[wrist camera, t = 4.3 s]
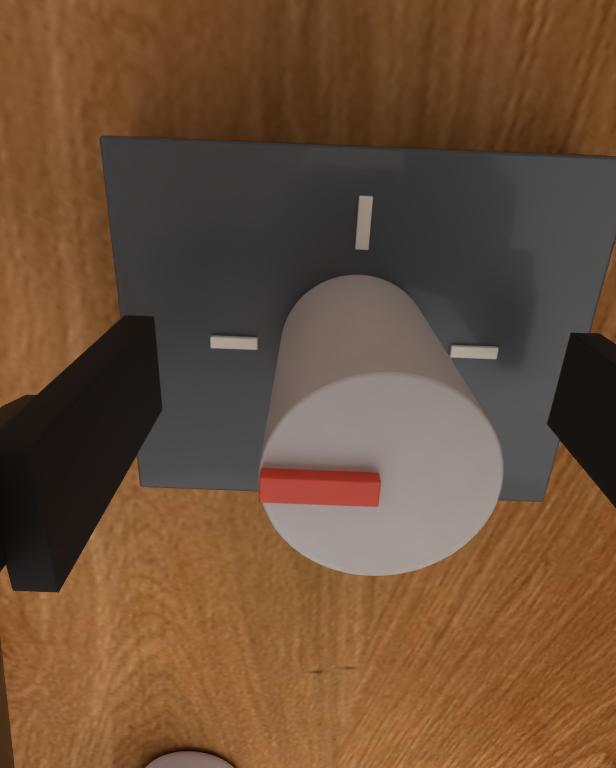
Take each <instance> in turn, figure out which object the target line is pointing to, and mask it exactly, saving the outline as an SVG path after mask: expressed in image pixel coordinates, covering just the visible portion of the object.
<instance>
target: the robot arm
mask: <svg viewBox="0 0 616 768" xmlns="http://www.w3.org/2000/svg"><path fill="white" fill-rule="evenodd" d="M162 410H163V409H162V398H161V387H160V376H159V365H158V353H157V342H156V331H155V320H154V316H134V315H124V316H123V317H122V318H121V319H120V320H119V321H118V322H117V323H116V324H115V325H113V326H112V327H111V328H110V329H109V330H108V331H107V332H106V333H105V334H104V335H102V336H101V337H100V338H99V339H98V340H97V341H96V342H95V343H94V344H93V345H91V346H90V347H89V348H88V349H87V350H86V351H85V352H84V353H83V354H82V355H80V356H79V357H78V358H77V359H76V360H75V361H74V362H73V363H72V364H71V365H69V366H68V367H67V368H66V369H65V370H64V371H63V372H62V373H61V374H60V375H58V376H57V377H56V378H55V379H54V380H53V381H52V382H51V383H50V384H48V385H47V386H46V387H45V388H44V389H43V390H42V391H41V392H40V393H39V394H37V395H25V396H23V397H21V398H19V399H17V400H14V401H12V402H10V403H8V404H6V405H4V406H2V407H1V408H0V572H1V570H2V569H3V568H4V566H5V565H6V566H7V570H8V574H9V577H10V581H11V585H12V589H13V591H35V592H59V591H60V589H61V587H62V586H63V584H64V582H65V580H66V579H67V577H68V575H69V573H70V572H71V570H72V568H73V566H74V565H75V563H76V561H77V559H78V557H79V556H80V554H81V552H82V550H83V549H84V547H85V545H86V543H87V542H88V540H89V538H90V536H91V535H92V533H93V531H94V529H95V528H96V526H97V524H98V522H99V521H100V519H101V517H102V515H103V514H104V512H105V510H106V508H107V507H108V505H109V503H110V501H111V500H112V498H113V496H114V494H115V492H116V491H117V489H118V487H119V485H120V484H121V482H122V480H123V478H124V477H125V475H126V473H127V471H128V470H129V468H130V466H131V464H132V463H133V461H134V459H135V457H136V456H137V454H138V452H139V450H140V449H141V447H142V445H143V443H144V442H145V440H146V438H147V436H148V434H149V433H150V431H151V429H152V427H153V426H154V424H155V422H156V420H157V419H158V417H159V415H160V413H161V412H162ZM547 425H548V426H549V428H550V429H551V430H552V431H553V432H554V434H555V435H556V436H557V437H558V439H559V440H560V441H561V442H562V443H563V445H564V446H565V447H566V448H567V449H568V451H569V452H570V453H571V454H572V455H573V457H574V458H575V459H576V460H577V462H578V463H579V464H580V465H581V466H582V468H583V469H584V470H585V471H586V472H587V474H588V475H589V476H590V477H591V478H592V480H593V481H594V482H595V483H596V485H597V486H598V487H599V488H600V489H601V491H602V492H603V493H604V494H605V495H606V497H607V498H608V499H609V500H610V502H611V503H612V504H613V505H614V506H615V508H616V344H615V343H613V342H612V341H610V340H609V339H607V338H606V337H604V336H603V335H601V334H598V333H572V332H571V333H570V337H569V341H568V345H567V349H566V353H565V356H564V360H563V364H562V368H561V372H560V376H559V380H558V383H557V387H556V391H555V395H554V399H553V403H552V406H551V410H550V414H549V418H548V422H547ZM0 768H14V758H13V749H12V740H11V731H10V722H9V713H8V703H7V694H6V685H5V676H4V667H3V658H2V649H1V639H0Z"/></svg>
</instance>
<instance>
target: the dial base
mask: <svg viewBox="0 0 616 768" xmlns="http://www.w3.org/2000/svg"><path fill="white" fill-rule="evenodd" d="M100 146H101V154H102V163H103V171H104V180H105V189H106V197H107V206H108V214H109V223H110V231H111V240H112V248H113V257H114V265H115V274H116V282H117V291H118V299H119V308H120V316H121V318H122V317H123V316H124V315H134V316H154V320H155V331H156V342H157V353H158V365H159V376H160V387H161V398H162V409H163V410H162V412H161V413H160V415H159V417H158V419H157V420H156V422H155V424H154V426H153V427H152V429H151V431H150V433H149V434H148V436H147V438H146V440H145V442H144V443H143V445H142V447H141V449H140V450H139V452H138V454H137V461H138V470H139V478H140V485H141V486H142V487H159V488H186V489H213V490H240V491H259V479H258V478H259V465H260V459H261V453H262V447H263V441H264V435H265V430H266V424H267V418H268V412H269V406H270V401H271V395H272V389H273V383H274V377H275V371H276V366H277V360H278V354H279V348H280V342H281V336H282V332H283V328H284V325H285V322H286V319H287V317H288V315H289V313H290V312H291V310H292V308H293V307H294V306H295V304H296V303H297V302H298V301H299V300H300V299H301V298H302V297H303V295H305V294H306V293H307V292H308V291H310V290H311V289H312V288H314V287H316V286H317V285H319V284H321V283H323V282H325V281H327V280H330V279H333V278H336V277H340V276H346V275H367V276H373V277H377V278H381V279H383V280H386V281H388V282H390V283H392V284H394V285H396V286H398V287H399V288H400V289H402V290H403V291H404V292H406V293H407V294H408V295H409V296H410V297H411V298H412V300H413V301H414V302H415V304H416V305H417V306H418V308H419V309H420V311H421V313H422V314H423V316H424V317H425V319H426V320H427V322H428V324H429V325H430V327H431V328H432V330H433V332H434V333H435V335H436V336H437V338H438V340H439V341H440V343H441V344H442V346H443V348H444V349H445V351H446V352H447V354H448V355H449V357H450V359H451V360H452V362H453V363H454V365H455V367H456V368H457V370H458V371H459V373H460V375H461V376H462V378H463V379H464V381H465V382H466V384H467V386H468V387H469V389H470V390H471V392H472V394H473V395H474V397H475V398H476V400H477V402H478V403H479V405H480V406H481V408H482V409H483V411H484V413H485V414H486V416H487V417H488V419H489V421H490V422H491V424H492V426H493V428H494V430H495V432H496V434H497V436H498V439H499V442H500V445H501V449H502V455H503V460H504V475H503V481H502V488H501V491H500V495H499V498H498V500H507V501H534V502H542V501H543V500H544V497H545V493H546V489H547V486H548V482H549V479H550V475H551V471H552V468H553V464H554V461H555V457H556V453H557V450H558V446H559V442H560V440H559V439H558V437H557V436H556V435H555V434H554V432H553V431H552V430H551V429H550V428H549V426H548V425H547V422H548V418H549V414H550V410H551V406H552V403H553V399H554V395H555V391H556V387H557V383H558V380H559V376H560V372H561V368H562V364H563V360H564V356H565V353H566V349H567V345H568V341H569V337H570V333H571V332H572V333H590V330H591V327H592V323H593V319H594V316H595V312H596V308H597V305H598V301H599V298H600V294H601V290H602V287H603V283H604V279H605V276H606V272H607V269H608V265H609V261H610V258H611V254H612V250H613V247H614V243H615V240H616V156H596V155H573V154H549V153H524V152H499V151H475V150H450V149H426V148H401V147H376V146H352V145H327V144H303V143H278V142H253V141H229V140H204V139H180V138H155V137H129V136H101V137H100Z"/></svg>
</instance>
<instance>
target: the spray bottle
mask: <svg viewBox="0 0 616 768" xmlns="http://www.w3.org/2000/svg"><path fill="white" fill-rule="evenodd" d="M145 768H234V767H233V766H232V765H230V764H229V763H228V762H226V761H224V760H223V759H221V758H219V757H216V756H213V755H211V754H207V753H202V752H195V751H181V752H174V753H169V754H166V755H163V756H161V757H158V758H157V759H155V760H153V761H152V762H151V763H150V764H148V765H147V766H146V767H145Z"/></svg>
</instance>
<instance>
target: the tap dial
mask: <svg viewBox="0 0 616 768" xmlns="http://www.w3.org/2000/svg"><path fill="white" fill-rule="evenodd" d="M503 475H504V460H503V455H502V449H501V445H500V442H499V439H498V436H497V434H496V432H495V430H494V428H493V426H492V424H491V422H490V421H489V419H488V417H487V416H486V414H485V413H484V411H483V409H482V408H481V406H480V405H479V403H478V402H477V400H476V398H475V397H474V395H473V394H472V392H471V390H470V389H469V387H468V386H467V384H466V382H465V381H464V379H463V378H462V376H461V375H460V373H459V371H458V370H457V368H456V367H455V365H454V363H453V362H452V360H451V359H450V357H449V355H448V354H447V352H446V351H445V349H444V348H443V346H442V344H441V343H440V341H439V340H438V338H437V336H436V335H435V333H434V332H433V330H432V328H431V327H430V325H429V324H428V322H427V320H426V319H425V317H424V316H423V314H422V313H421V311H420V309H419V308H418V306H417V305H416V304H415V302H414V301H413V300H412V298H411V297H410V296H409V295H408V294H407V293H406V292H404V291H403V290H402V289H400V288H399V287H398V286H396V285H394V284H392V283H390V282H388V281H386V280H383V279H381V278H377V277H373V276H367V275H346V276H340V277H336V278H333V279H330V280H327V281H325V282H323V283H321V284H319V285H317V286H316V287H314V288H312V289H311V290H310V291H308V292H307V293H306V294H305V295H303V297H302V298H301V299H300V300H299V301H298V302H297V303H296V304H295V306H294V307H293V308H292V310H291V312H290V313H289V315H288V317H287V319H286V322H285V325H284V328H283V332H282V336H281V342H280V348H279V354H278V360H277V366H276V371H275V377H274V383H273V389H272V395H271V401H270V406H269V412H268V418H267V424H266V430H265V435H264V441H263V447H262V453H261V459H260V465H259V478H258V479H259V501H260V502H261V503H262V504H263V506H264V509H265V511H266V513H267V516H268V518H269V519H270V521H271V523H272V524H273V526H274V528H275V529H276V530H277V532H278V533H279V534H280V535H281V537H282V538H283V539H284V540H285V541H286V542H287V543H288V544H289V545H290V546H291V547H292V548H294V549H295V550H296V551H298V552H299V553H301V554H302V555H303V556H305V557H307V558H309V559H310V560H312V561H314V562H316V563H318V564H320V565H323V566H325V567H328V568H331V569H334V570H337V571H341V572H345V573H351V574H356V575H368V576H385V575H394V574H401V573H406V572H410V571H414V570H418V569H421V568H424V567H427V566H429V565H432V564H434V563H436V562H438V561H441V560H442V559H444V558H446V557H448V556H450V555H451V554H453V553H454V552H456V551H457V550H459V549H460V548H461V547H463V546H464V545H465V544H466V543H467V542H469V541H470V540H471V539H472V538H473V537H474V536H475V535H476V534H477V533H478V532H479V530H480V529H481V528H482V527H483V526H484V524H485V523H486V521H487V520H488V518H489V517H490V515H491V514H492V512H493V510H494V508H495V505H496V503H497V501H498V498H499V495H500V491H501V488H502V481H503Z"/></svg>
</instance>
